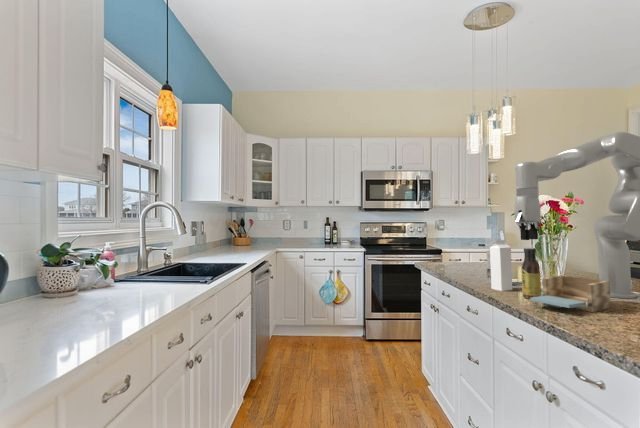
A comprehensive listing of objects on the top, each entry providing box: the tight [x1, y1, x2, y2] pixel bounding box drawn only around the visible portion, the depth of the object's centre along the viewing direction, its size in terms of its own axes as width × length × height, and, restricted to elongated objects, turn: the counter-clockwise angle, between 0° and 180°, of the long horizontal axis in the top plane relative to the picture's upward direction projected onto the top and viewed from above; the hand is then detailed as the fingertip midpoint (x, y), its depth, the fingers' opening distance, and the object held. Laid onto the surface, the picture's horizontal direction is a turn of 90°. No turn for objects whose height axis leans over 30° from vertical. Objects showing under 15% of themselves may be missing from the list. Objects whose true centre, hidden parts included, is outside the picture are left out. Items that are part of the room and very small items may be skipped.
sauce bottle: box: [521, 247, 542, 300], centre depth 133 cm, size 6×6×20 cm
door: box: [529, 295, 586, 309], centre depth 117 cm, size 10×12×2 cm
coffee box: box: [486, 250, 491, 285], centre depth 164 cm, size 9×6×16 cm
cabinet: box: [542, 274, 612, 313], centre depth 121 cm, size 12×16×9 cm
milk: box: [489, 239, 513, 292], centre depth 151 cm, size 6×6×22 cm
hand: (529, 239), depth 133 cm, fingers open, 4 cm apart
